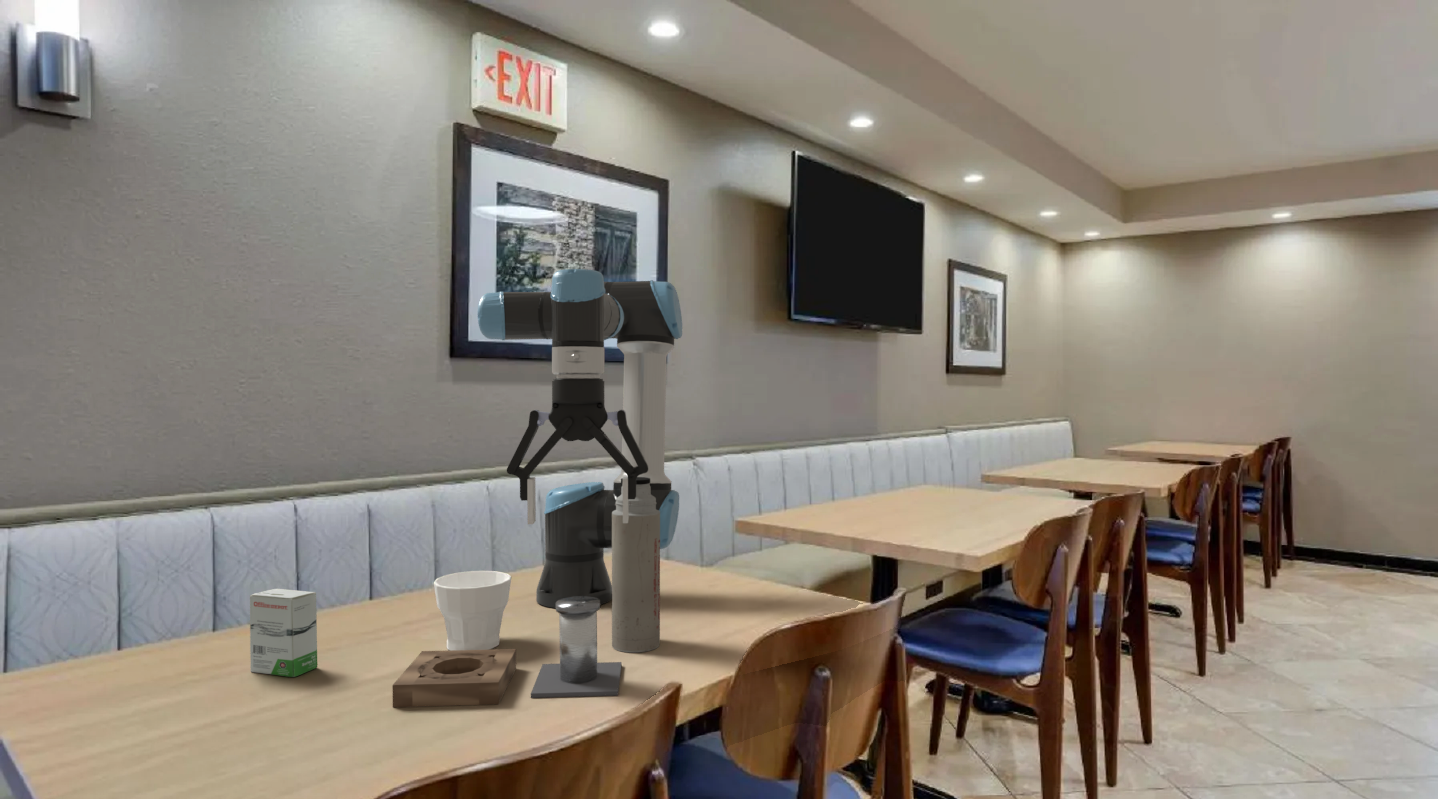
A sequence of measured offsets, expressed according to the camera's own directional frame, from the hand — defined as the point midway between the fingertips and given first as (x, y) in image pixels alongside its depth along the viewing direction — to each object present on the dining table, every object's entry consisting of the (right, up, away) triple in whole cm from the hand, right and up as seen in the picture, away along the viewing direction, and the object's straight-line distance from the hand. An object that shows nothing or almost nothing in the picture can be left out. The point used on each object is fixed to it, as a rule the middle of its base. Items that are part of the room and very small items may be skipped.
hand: (578, 522), depth 119 cm
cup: (-20, -23, +17) cm, 35 cm away
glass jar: (0, -23, 0) cm, 23 cm away
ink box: (-46, -23, +5) cm, 51 cm away
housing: (-17, -23, -2) cm, 29 cm away
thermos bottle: (+7, -23, +17) cm, 29 cm away
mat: (0, -23, 0) cm, 23 cm away
